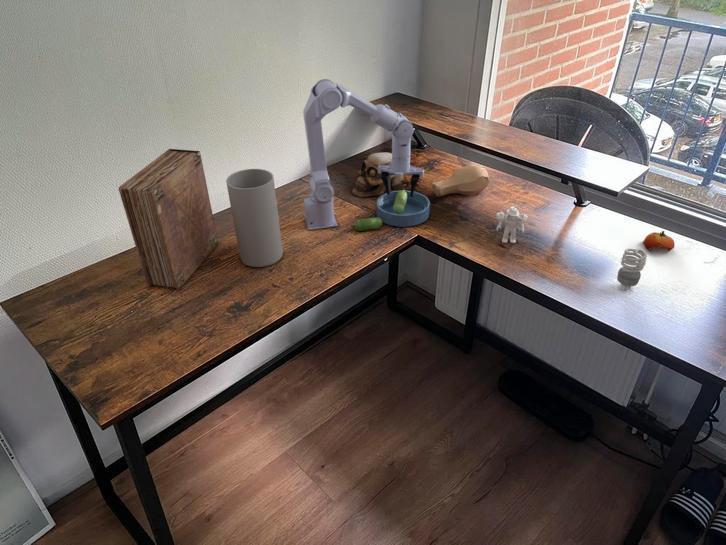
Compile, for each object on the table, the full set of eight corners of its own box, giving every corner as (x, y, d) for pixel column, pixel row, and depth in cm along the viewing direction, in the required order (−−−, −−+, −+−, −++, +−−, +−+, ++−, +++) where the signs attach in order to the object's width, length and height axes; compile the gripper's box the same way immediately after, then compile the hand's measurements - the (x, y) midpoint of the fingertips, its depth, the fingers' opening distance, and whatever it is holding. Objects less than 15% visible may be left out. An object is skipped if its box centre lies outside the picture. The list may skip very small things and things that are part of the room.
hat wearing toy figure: (523, 238, 168) (529, 203, 161) (524, 245, 165) (530, 209, 158) (493, 236, 170) (497, 201, 163) (493, 243, 166) (497, 207, 160)
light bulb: (631, 281, 149) (642, 243, 142) (640, 294, 144) (653, 255, 137) (610, 282, 149) (620, 244, 142) (618, 295, 144) (630, 256, 137)
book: (177, 291, 150) (151, 191, 133) (147, 287, 152) (117, 188, 135) (218, 242, 170) (200, 150, 153) (191, 239, 172) (169, 147, 155)
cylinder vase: (236, 250, 167) (222, 173, 152) (277, 241, 170) (267, 165, 156) (244, 272, 157) (230, 192, 143) (287, 262, 160) (278, 183, 146)
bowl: (384, 231, 174) (384, 218, 171) (371, 206, 187) (370, 194, 185) (436, 223, 177) (437, 211, 174) (419, 199, 190) (420, 187, 188)
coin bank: (348, 194, 194) (350, 157, 187) (367, 179, 208) (369, 144, 201) (391, 203, 189) (394, 165, 183) (406, 187, 203) (410, 151, 197)
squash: (494, 194, 193) (496, 173, 186) (440, 209, 190) (440, 188, 184) (481, 177, 200) (482, 156, 194) (428, 191, 198) (428, 170, 191)
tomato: (683, 246, 159) (674, 232, 156) (667, 264, 160) (657, 251, 156) (661, 237, 166) (651, 223, 162) (645, 254, 167) (635, 241, 163)
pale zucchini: (403, 216, 181) (402, 208, 178) (392, 214, 182) (391, 207, 179) (409, 194, 187) (408, 186, 184) (398, 193, 188) (398, 185, 185)
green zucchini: (352, 234, 173) (352, 224, 170) (350, 228, 175) (349, 218, 173) (383, 229, 174) (383, 219, 172) (380, 224, 177) (380, 214, 175)
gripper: (375, 158, 172) (375, 197, 179) (421, 162, 168) (420, 202, 176) (380, 149, 177) (380, 188, 185) (425, 153, 174) (424, 192, 182)
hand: (400, 194), depth 181 cm, fingers open, 7 cm apart
